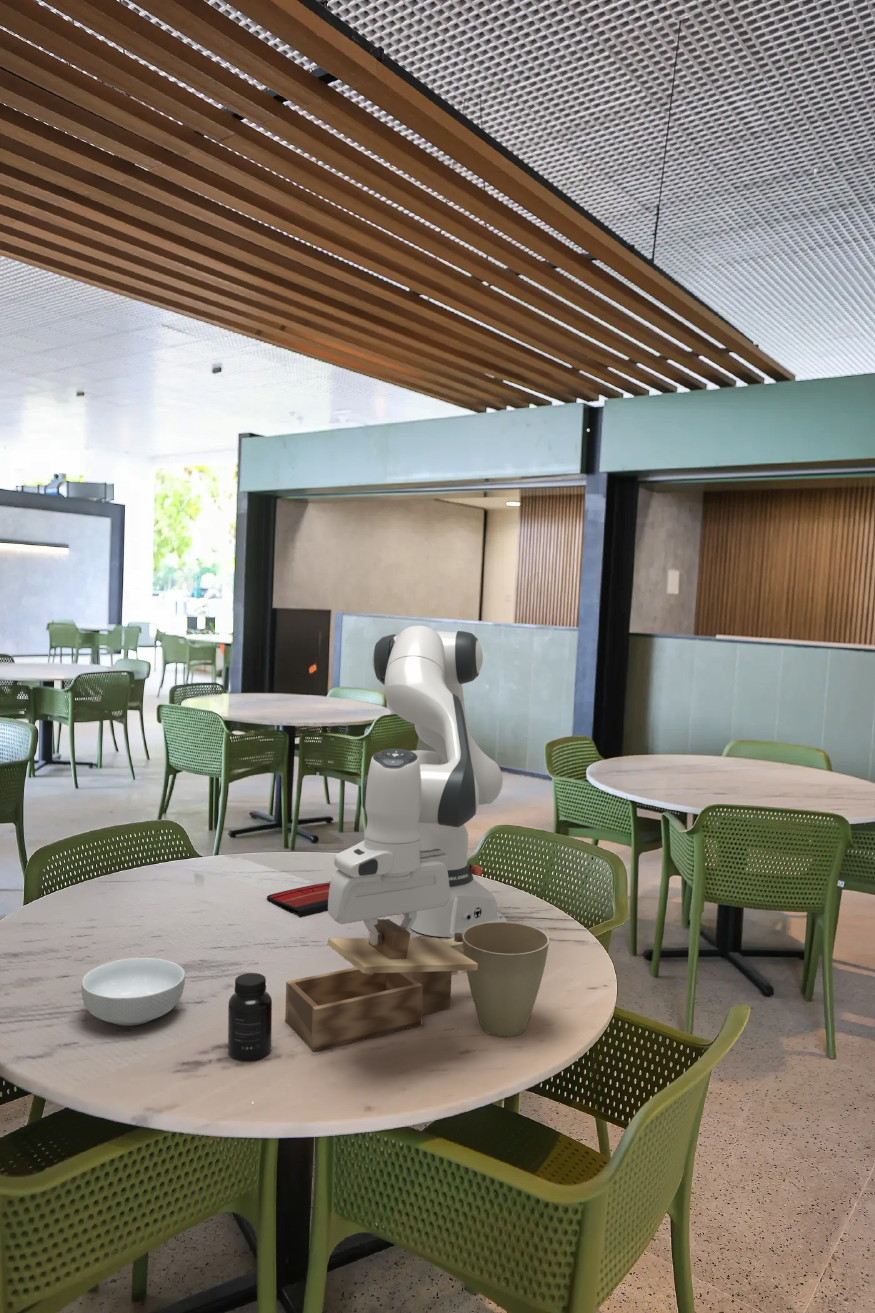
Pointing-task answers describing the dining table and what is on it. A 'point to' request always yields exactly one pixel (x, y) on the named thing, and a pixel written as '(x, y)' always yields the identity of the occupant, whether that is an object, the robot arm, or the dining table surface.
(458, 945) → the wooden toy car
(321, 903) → the binder
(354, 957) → the lid
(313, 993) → the open wooden box
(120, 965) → the cereal bowl
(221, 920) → the dining table surface
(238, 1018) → the supplement bottle
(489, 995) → the plant pot
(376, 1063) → the dining table surface
